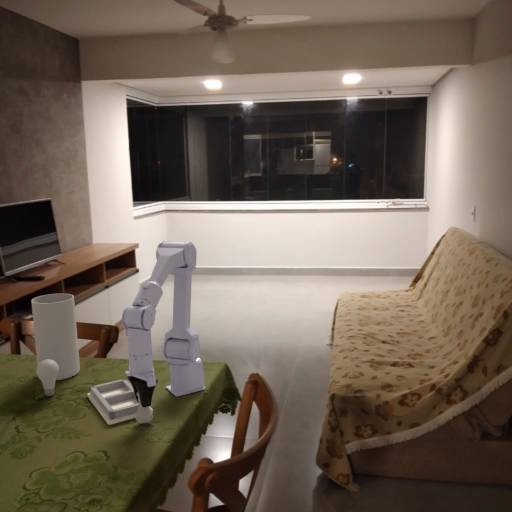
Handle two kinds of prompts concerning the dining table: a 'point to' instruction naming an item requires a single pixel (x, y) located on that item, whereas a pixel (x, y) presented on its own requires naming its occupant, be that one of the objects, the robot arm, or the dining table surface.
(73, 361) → the cylinder vase
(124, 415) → the pocket tray
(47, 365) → the lightbulb
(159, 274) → the robot arm
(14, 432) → the dining table surface
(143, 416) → the rook chess piece
